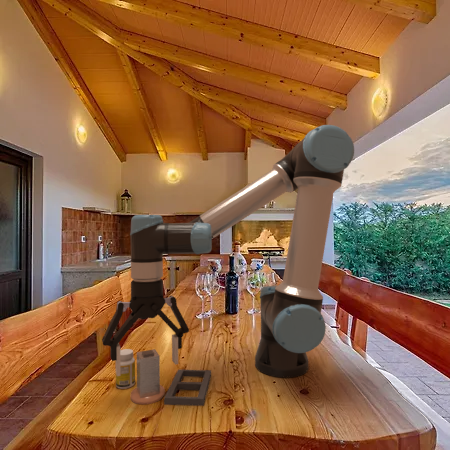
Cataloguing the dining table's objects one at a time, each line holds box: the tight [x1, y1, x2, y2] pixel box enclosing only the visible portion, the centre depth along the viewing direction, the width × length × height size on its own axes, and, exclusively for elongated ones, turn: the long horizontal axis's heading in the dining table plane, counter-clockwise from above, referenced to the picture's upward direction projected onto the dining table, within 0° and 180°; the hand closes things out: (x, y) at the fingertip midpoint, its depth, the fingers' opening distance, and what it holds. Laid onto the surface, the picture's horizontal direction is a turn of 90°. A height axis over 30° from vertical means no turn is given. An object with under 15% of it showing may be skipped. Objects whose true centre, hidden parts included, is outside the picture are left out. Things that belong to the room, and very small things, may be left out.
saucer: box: [130, 384, 166, 405], centre depth 76 cm, size 8×8×1 cm
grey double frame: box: [163, 369, 212, 407], centre depth 79 cm, size 9×14×2 cm, turn 176°
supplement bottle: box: [115, 348, 136, 390], centre depth 81 cm, size 5×5×8 cm
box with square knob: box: [136, 348, 161, 398], centre depth 76 cm, size 4×4×9 cm
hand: (147, 367), depth 76 cm, fingers open, 13 cm apart
